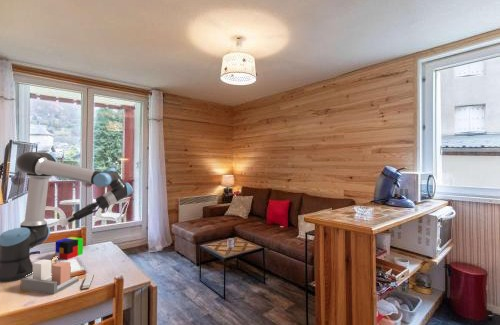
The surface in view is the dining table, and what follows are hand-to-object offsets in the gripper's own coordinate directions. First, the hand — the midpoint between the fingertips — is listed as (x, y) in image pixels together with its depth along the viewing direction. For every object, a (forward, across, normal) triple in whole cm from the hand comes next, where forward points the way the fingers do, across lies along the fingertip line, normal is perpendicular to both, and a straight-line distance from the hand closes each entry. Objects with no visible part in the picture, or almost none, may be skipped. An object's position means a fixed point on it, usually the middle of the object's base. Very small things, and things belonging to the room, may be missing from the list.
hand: (60, 224), depth 131 cm
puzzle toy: (+4, +31, -28) cm, 42 cm away
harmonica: (+5, -17, -28) cm, 34 cm away
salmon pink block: (+12, -12, -22) cm, 28 cm away
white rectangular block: (+18, -3, -19) cm, 26 cm away
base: (+16, -8, -22) cm, 28 cm away
